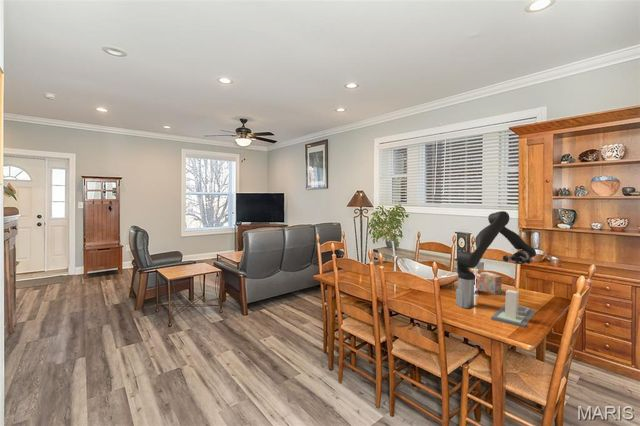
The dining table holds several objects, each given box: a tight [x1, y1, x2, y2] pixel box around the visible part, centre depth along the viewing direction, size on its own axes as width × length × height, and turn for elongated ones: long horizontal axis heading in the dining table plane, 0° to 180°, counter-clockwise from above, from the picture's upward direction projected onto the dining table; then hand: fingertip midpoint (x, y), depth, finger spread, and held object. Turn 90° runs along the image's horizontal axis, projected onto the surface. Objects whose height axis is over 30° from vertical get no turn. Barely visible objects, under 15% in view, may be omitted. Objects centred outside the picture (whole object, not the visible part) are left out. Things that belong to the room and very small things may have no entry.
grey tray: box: [490, 304, 537, 329], centre depth 178 cm, size 28×16×3 cm, turn 136°
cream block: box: [504, 289, 520, 319], centre depth 172 cm, size 5×5×14 cm
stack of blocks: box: [476, 271, 503, 295], centre depth 226 cm, size 21×6×12 cm, turn 23°
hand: (513, 261), depth 190 cm, fingers open, 8 cm apart
